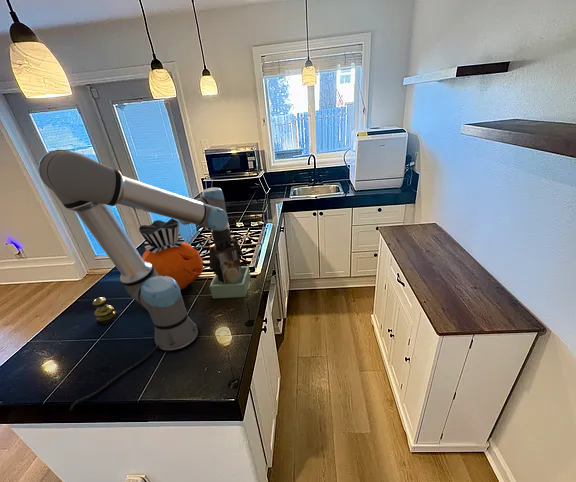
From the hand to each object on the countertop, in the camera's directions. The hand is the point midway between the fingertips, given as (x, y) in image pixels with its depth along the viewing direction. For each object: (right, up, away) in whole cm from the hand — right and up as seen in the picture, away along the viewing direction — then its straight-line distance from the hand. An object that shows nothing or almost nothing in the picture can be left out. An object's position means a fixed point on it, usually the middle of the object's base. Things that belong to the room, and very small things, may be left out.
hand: (230, 276), depth 140 cm
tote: (0, -5, +3) cm, 6 cm away
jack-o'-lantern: (-26, -3, +10) cm, 28 cm away
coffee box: (0, -2, +2) cm, 3 cm away
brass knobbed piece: (-49, -19, -10) cm, 53 cm away
